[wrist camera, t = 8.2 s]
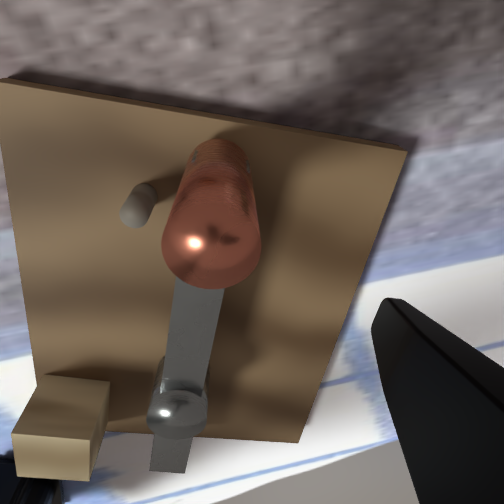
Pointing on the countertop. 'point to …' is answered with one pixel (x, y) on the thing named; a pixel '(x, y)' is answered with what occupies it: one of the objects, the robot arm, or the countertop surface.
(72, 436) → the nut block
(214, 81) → the countertop surface
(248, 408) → the board
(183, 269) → the lever
